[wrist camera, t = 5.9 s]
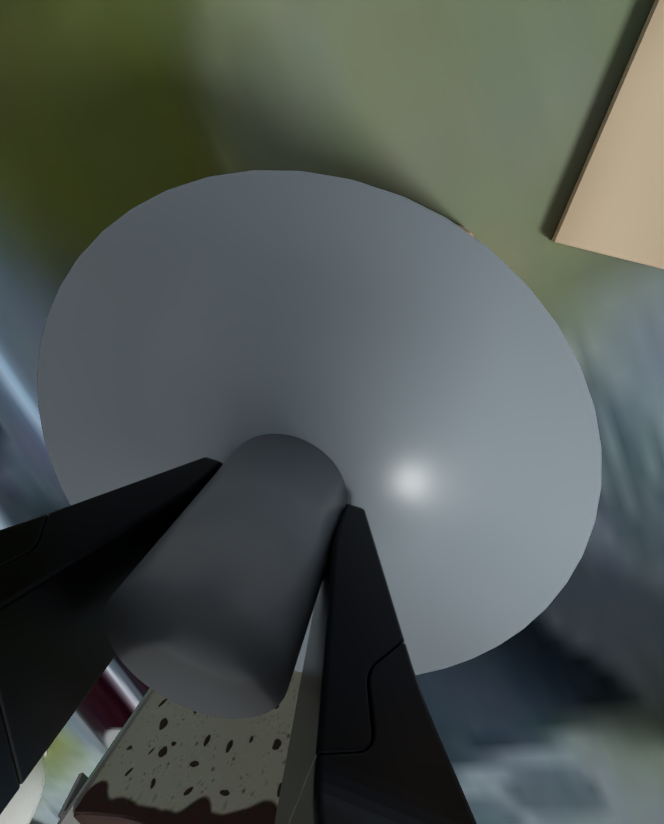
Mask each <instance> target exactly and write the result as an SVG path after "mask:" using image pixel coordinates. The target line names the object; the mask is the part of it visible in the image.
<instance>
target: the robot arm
mask: <svg viewBox="0 0 664 824" xmlns="http://www.w3.org/2000/svg"><path fill="white" fill-rule="evenodd" d="M222 465H223V464H222V462H220V461H217V460H214V459H211V458H208V457H204V458H201V459H198V460H195V461H192V462H190V463H187V464H184V465H181V466H179V467H176V468H173V469H170V470H168V471H165V472H162V473H159V474H156V475H154V476H151V477H148V478H145V479H143V480H140V481H137V482H134V483H132V484H129V485H126V486H123V487H120V488H118V489H115V490H112V491H109V492H107V493H104V494H101V495H98V496H96V497H93V498H90V499H87V500H84V501H82V502H79V503H76V504H73V505H71V506H68V507H65V508H62V509H60V510H57V511H54V512H51V513H50V514H49V515H48V516H47V515H43V516H40V517H37V518H34V519H31V520H29V521H26V522H23V523H20V524H17V525H14V526H11V527H8V528H5V529H3V530H0V815H1V813H2V812H3V810H4V809H5V808H6V806H7V805H8V804H9V802H10V801H11V799H12V798H13V797H14V795H15V794H16V792H17V791H18V790H19V788H20V784H22V783H23V782H24V781H25V780H26V778H27V777H28V775H29V774H30V773H31V771H32V770H33V769H34V767H35V766H36V764H37V763H38V762H39V760H40V759H41V757H42V756H43V755H44V753H45V752H46V751H47V749H48V748H49V746H50V745H51V744H52V742H53V741H54V739H55V738H56V737H57V735H58V734H59V733H60V731H61V730H62V728H63V727H64V726H65V724H66V723H67V721H68V720H69V719H70V717H71V716H72V715H73V713H74V712H75V710H76V709H77V708H78V706H79V705H80V704H81V702H82V701H83V699H84V698H85V697H86V695H87V694H88V692H89V691H90V690H91V688H92V687H93V686H94V684H95V683H96V681H97V680H98V679H99V677H100V676H101V674H102V673H103V672H104V670H105V669H106V668H107V666H108V665H109V663H110V662H111V661H112V659H113V658H114V656H115V655H116V652H115V651H114V649H113V647H112V646H111V643H110V641H109V639H108V637H107V633H106V630H105V624H104V611H105V607H106V604H107V602H108V600H109V598H110V597H111V596H112V594H113V593H114V592H115V591H116V590H117V589H118V587H119V586H120V585H121V584H122V583H123V581H124V580H125V579H126V578H127V577H128V576H129V574H130V573H131V572H132V571H133V570H134V569H135V567H136V566H137V565H138V564H139V563H140V562H141V560H142V559H143V558H144V557H145V556H146V554H147V553H148V552H149V551H150V550H151V549H152V547H153V546H154V545H155V544H156V543H157V542H158V540H159V539H160V538H161V537H162V536H163V535H164V533H165V532H166V531H167V530H168V529H169V527H170V526H171V525H172V524H173V523H174V522H175V520H176V519H177V518H178V517H179V516H180V515H181V513H182V512H183V511H184V510H185V509H186V508H187V506H188V505H189V504H190V503H191V502H192V500H193V499H194V498H195V497H196V496H197V495H198V493H199V492H200V491H201V490H202V489H203V488H204V486H205V485H206V484H207V483H208V482H209V481H210V479H211V478H212V477H213V476H214V475H215V474H216V472H217V471H218V470H219V469H220V468H221V466H222ZM274 824H477V823H476V821H475V818H474V816H473V814H472V812H471V809H470V807H469V805H468V802H467V800H466V798H465V795H464V793H463V791H462V788H461V786H460V784H459V781H458V779H457V777H456V774H455V772H454V770H453V767H452V765H451V763H450V760H449V758H448V756H447V753H446V751H445V749H444V746H443V744H442V741H441V739H440V737H439V734H438V732H437V730H436V727H435V725H434V723H433V720H432V718H431V715H430V713H429V710H428V708H427V705H426V703H425V700H424V698H423V695H422V692H421V690H420V687H419V684H418V681H417V678H416V675H415V672H414V669H413V666H412V663H411V660H410V656H409V653H408V650H407V646H406V644H405V643H404V637H403V634H402V630H401V627H400V624H399V621H398V617H397V614H396V611H395V607H394V604H393V601H392V598H391V594H390V591H389V588H388V584H387V581H386V578H385V575H384V571H383V568H382V565H381V561H380V558H379V555H378V552H377V548H376V545H375V542H374V538H373V535H372V532H371V529H370V525H369V522H368V519H367V515H366V512H365V510H364V509H363V508H360V507H357V506H354V505H351V504H346V505H345V508H344V511H343V514H342V517H341V520H340V523H339V526H338V529H337V532H336V535H335V538H334V541H333V545H332V548H331V552H330V555H329V559H328V563H327V567H326V571H325V575H324V578H323V581H322V584H321V587H320V590H319V594H318V597H317V600H316V603H315V607H314V611H313V616H312V621H311V627H310V632H309V638H308V643H307V649H306V654H305V659H304V665H303V670H302V676H301V681H300V687H299V692H298V698H297V703H296V709H295V714H294V719H293V725H292V730H291V736H290V741H289V747H288V752H287V758H286V763H285V768H284V774H283V779H282V785H281V790H280V796H279V801H278V807H277V812H276V818H275V823H274Z"/></svg>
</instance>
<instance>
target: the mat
mask: <svg viewBox="0 0 664 824" xmlns="http://www.w3.org/2000/svg"><path fill="white" fill-rule="evenodd" d="M552 241H553V242H557V243H561V244H565V245H569V246H573V247H577V248H581V249H585V250H589V251H593V252H597V253H601V254H605V255H609V256H613V257H617V258H621V259H625V260H629V261H633V262H637V263H641V264H645V265H649V266H653V267H657V268H661V269H664V0H655V1H654V3H653V6H652V8H651V10H650V13H649V15H648V17H647V20H646V22H645V24H644V27H643V29H642V31H641V34H640V36H639V38H638V41H637V43H636V45H635V48H634V50H633V52H632V55H631V57H630V59H629V62H628V64H627V66H626V69H625V71H624V73H623V76H622V78H621V80H620V82H619V85H618V87H617V89H616V92H615V94H614V96H613V99H612V101H611V103H610V106H609V108H608V110H607V113H606V115H605V117H604V120H603V122H602V124H601V127H600V129H599V131H598V134H597V136H596V138H595V141H594V143H593V145H592V148H591V150H590V152H589V155H588V157H587V159H586V162H585V164H584V166H583V169H582V171H581V173H580V176H579V178H578V180H577V183H576V185H575V187H574V189H573V192H572V194H571V196H570V199H569V201H568V203H567V206H566V208H565V210H564V213H563V215H562V217H561V220H560V222H559V224H558V227H557V229H556V231H555V234H554V236H553V238H552Z"/></svg>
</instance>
